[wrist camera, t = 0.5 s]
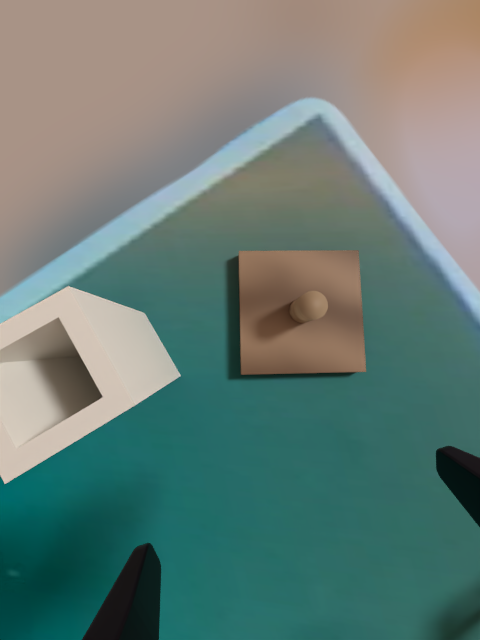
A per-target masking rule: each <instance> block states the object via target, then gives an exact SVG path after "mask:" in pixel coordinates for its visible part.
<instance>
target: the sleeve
mask: <svg viewBox="0 0 480 640" xmlns="http://www.w3.org/2000/svg"><path fill="white" fill-rule="evenodd" d="M180 376H181V375H180V373H179V372H178V370H177V368H176V367H175V365H174V363H173V361H172V360H171V358H170V356H169V354H168V353H167V351H166V349H165V348H164V346H163V344H162V342H161V341H160V339H159V337H158V335H157V334H156V332H155V330H154V329H153V327H152V325H151V323H150V322H149V320H148V318H147V316H146V315H145V313H143V312H140V311H137V310H134V309H131V308H129V307H126V306H123V305H120V304H117V303H115V302H112V301H109V300H106V299H103V298H101V297H98V296H95V295H92V294H89V293H86V292H84V291H81V290H78V289H75V288H72V287H70V286H68V287H66V288H64V289H63V290H61V291H59V292H57V293H55V294H53V295H52V296H50V297H48V298H46V299H44V300H43V301H41V302H39V303H37V304H35V305H34V306H32V307H30V308H28V309H26V310H24V311H23V312H21V313H19V314H17V315H15V316H14V317H12V318H10V319H8V320H6V321H4V322H3V323H1V324H0V476H1V477H2V479H3V481H4V483H5V484H6V483H8V482H9V481H11V480H12V479H14V478H16V477H17V476H19V475H21V474H22V473H24V472H26V471H27V470H29V469H31V468H32V467H34V466H36V465H37V464H39V463H41V462H42V461H44V460H46V459H47V458H49V457H50V456H52V455H54V454H55V453H57V452H59V451H60V450H62V449H64V448H65V447H67V446H69V445H70V444H72V443H74V442H75V441H77V440H79V439H80V438H82V437H84V436H85V435H87V434H88V433H90V432H92V431H93V430H95V429H97V428H98V427H100V426H102V425H103V424H105V423H107V422H108V421H110V420H112V419H113V418H115V417H117V416H118V415H120V414H122V413H123V412H125V411H127V410H128V409H130V408H131V407H133V406H135V405H136V404H138V403H139V402H141V401H143V400H144V399H146V398H147V397H149V396H150V395H152V394H153V393H155V392H157V391H158V390H160V389H161V388H163V387H164V386H166V385H167V384H169V383H170V382H172V381H174V380H175V379H177V378H178V377H180Z"/></svg>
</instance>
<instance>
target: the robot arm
mask: <svg viewBox="0 0 480 640" xmlns="http://www.w3.org/2000/svg"><path fill="white" fill-rule="evenodd" d="M436 469H437V472H438V474H439V476H440V478H441V479H442V480H443V482H444V483H445V484H446V485H447V487H448V488H449V489H450V490H451V492H452V493H453V494H454V495H455V497H456V498H457V499H458V501H459V502H460V503H461V504H462V506H463V507H464V508H465V509H466V511H467V512H468V513H469V514H470V516H471V517H472V518H473V519H474V521H475V522H476V523H477V524H478V526H479V527H480V458H479V457H476V456H474V455H472V454H469V453H467V452H464V451H462V450H460V449H457V448H455V447H452V446H446V447H442V448H439V449H437V451H436ZM160 587H161V564H160V560H159V558H158V556H157V554H156V552H155V550H154V548H153V546H152V544H150V543H146V544H143V545H140V546H138V547H136V548H135V549H134V551H133V552H132V554H131V556H130V557H129V559H128V561H127V563H126V564H125V566H124V568H123V570H122V571H121V573H120V575H119V576H118V578H117V580H116V582H115V583H114V585H113V587H112V589H111V590H110V592H109V594H108V596H107V597H106V599H105V601H104V603H103V604H102V606H101V608H100V610H99V611H98V613H97V615H96V617H95V618H94V620H93V622H92V623H91V625H90V627H89V629H88V630H87V632H86V634H85V636H84V637H83V639H82V640H159V617H160Z"/></svg>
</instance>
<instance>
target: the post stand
mask: <svg viewBox="0 0 480 640" xmlns="http://www.w3.org/2000/svg"><path fill="white" fill-rule="evenodd" d="M239 305H240V359H241V375H248V374H291V373H333V372H366V362H365V346H364V330H363V315H362V299H361V283H360V267H359V251H358V250H347V251H239Z"/></svg>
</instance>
